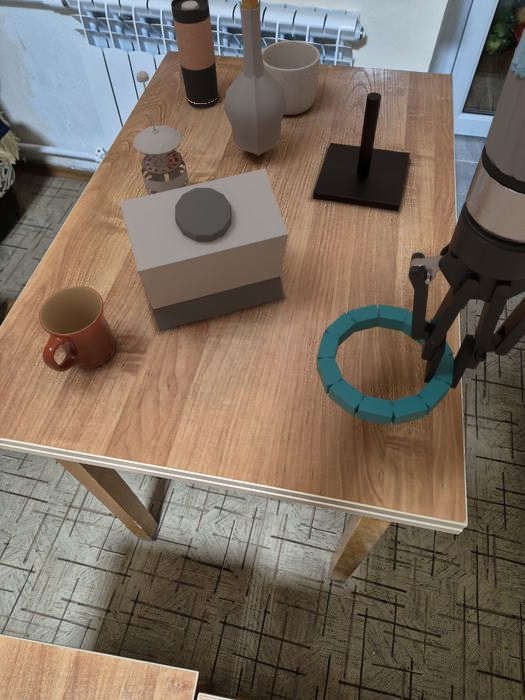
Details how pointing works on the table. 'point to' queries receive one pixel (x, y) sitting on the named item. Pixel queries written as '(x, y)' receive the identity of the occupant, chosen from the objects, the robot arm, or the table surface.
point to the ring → (372, 406)
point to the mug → (76, 329)
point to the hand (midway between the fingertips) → (440, 375)
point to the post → (363, 169)
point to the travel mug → (196, 50)
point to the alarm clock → (208, 247)
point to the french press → (160, 154)
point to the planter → (294, 72)
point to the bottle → (254, 91)
